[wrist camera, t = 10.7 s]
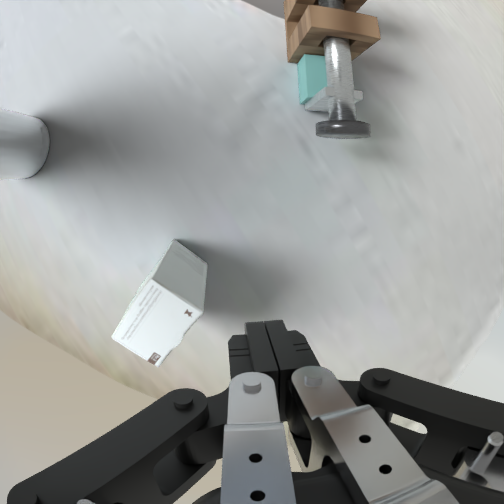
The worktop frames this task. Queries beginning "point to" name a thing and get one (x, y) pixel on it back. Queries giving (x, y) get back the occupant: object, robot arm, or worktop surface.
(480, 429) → the robot arm
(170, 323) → the skincare box
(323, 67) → the block
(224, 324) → the worktop surface
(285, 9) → the bearing stand
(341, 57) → the shaft
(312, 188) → the worktop surface
